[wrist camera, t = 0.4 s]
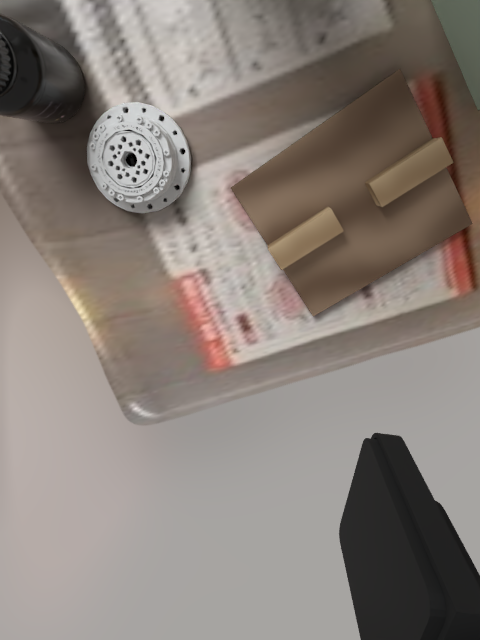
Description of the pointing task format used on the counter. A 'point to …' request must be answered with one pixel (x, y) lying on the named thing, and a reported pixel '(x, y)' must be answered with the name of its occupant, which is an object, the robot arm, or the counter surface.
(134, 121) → the mechanical component
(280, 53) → the counter surface
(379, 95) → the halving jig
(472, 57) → the sage plate
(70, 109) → the supplement bottle
